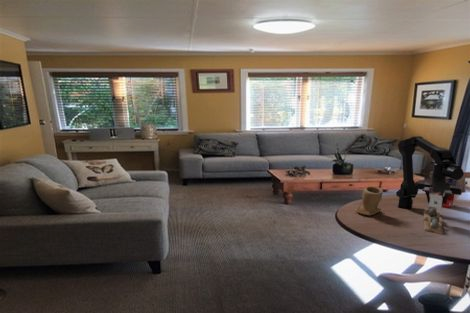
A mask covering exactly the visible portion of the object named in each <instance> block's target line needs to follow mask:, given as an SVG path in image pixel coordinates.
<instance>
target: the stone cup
mask: <svg viewBox="0 0 470 313" xmlns="http://www.w3.org/2000/svg"><path fill="white" fill-rule="evenodd" d="M361 196H362V197H361V200H362V205H360V206H358V207H357V208H355V211H356V213H359V214H361V215H364V216H374V215H375V214H377V213H379V212H380V211H382V208H381V207H380V206H379V204H380V202H381V200H382V197H383V191H382V189H381V188H379V187H377V186H373V185H369V186H366V187H365V188H364V189H363V191H362V195H361Z"/></svg>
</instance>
